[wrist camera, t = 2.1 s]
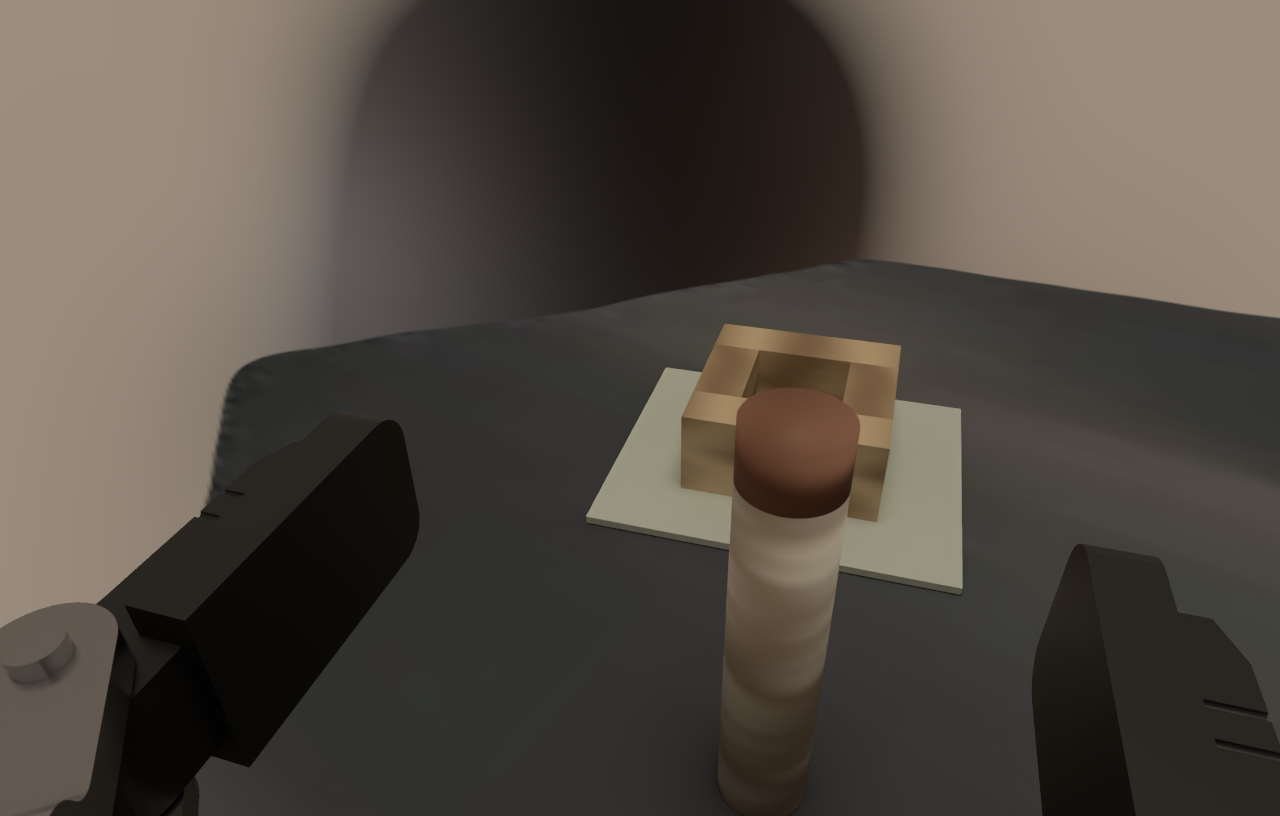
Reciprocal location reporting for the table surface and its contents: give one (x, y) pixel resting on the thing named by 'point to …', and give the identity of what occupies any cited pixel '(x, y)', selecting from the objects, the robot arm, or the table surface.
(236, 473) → the table surface
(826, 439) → the peg
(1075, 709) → the robot arm
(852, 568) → the mat
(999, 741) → the table surface
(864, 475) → the wooden square frame
